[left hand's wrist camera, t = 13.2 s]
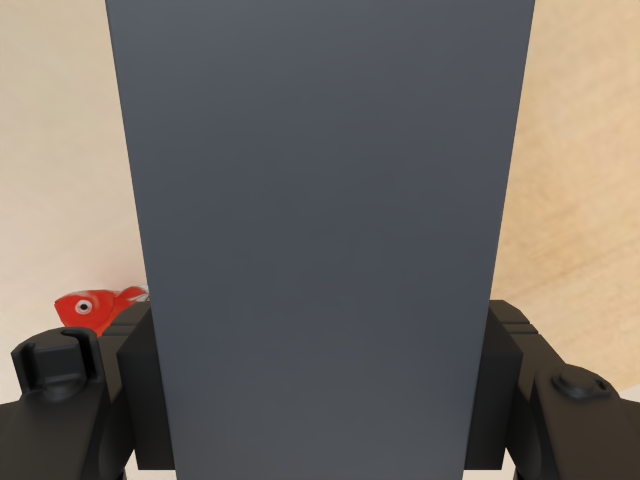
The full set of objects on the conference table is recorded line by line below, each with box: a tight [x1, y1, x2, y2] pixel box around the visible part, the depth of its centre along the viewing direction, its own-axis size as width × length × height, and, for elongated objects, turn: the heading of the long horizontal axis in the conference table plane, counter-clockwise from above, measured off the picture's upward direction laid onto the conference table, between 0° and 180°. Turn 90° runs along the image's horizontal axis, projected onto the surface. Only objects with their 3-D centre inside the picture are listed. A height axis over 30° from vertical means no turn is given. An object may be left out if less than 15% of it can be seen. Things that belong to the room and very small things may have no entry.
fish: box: [54, 285, 149, 337], centre depth 34 cm, size 11×16×10 cm
